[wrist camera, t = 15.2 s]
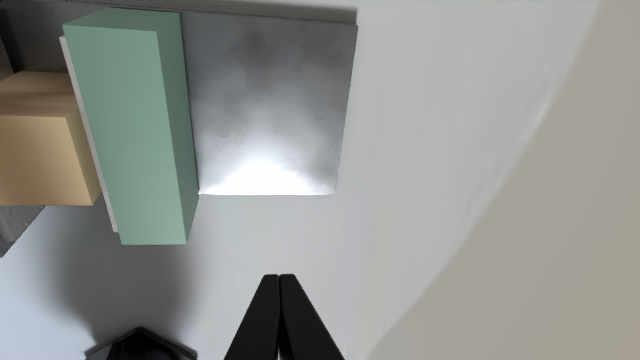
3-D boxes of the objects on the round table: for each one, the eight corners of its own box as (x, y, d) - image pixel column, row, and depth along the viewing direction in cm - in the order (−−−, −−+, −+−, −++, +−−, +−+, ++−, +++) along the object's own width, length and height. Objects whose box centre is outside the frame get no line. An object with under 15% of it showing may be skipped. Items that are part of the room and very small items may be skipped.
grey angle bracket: (355, 23, 18) (386, 51, 13) (333, 189, 23) (349, 251, 19) (-175, -19, 15) (-382, -1, 10) (-59, 186, 20) (-158, 260, 15)
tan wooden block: (113, 75, 17) (65, 117, 13) (129, 149, 19) (92, 205, 15) (20, 70, 17) (-61, 113, 13) (47, 147, 19) (-15, 205, 15)
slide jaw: (179, 13, 16) (156, 31, 13) (198, 197, 21) (186, 244, 18) (95, 6, 15) (49, 23, 12) (137, 197, 21) (113, 245, 17)
